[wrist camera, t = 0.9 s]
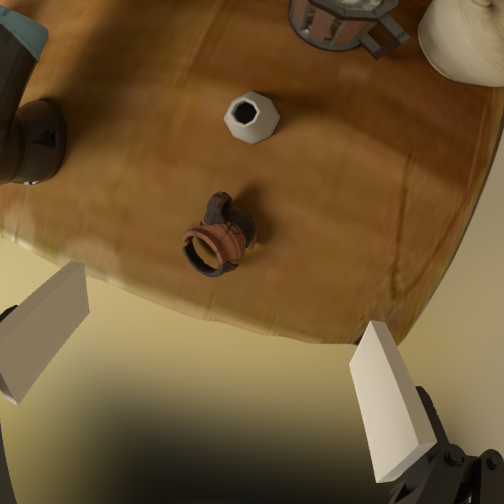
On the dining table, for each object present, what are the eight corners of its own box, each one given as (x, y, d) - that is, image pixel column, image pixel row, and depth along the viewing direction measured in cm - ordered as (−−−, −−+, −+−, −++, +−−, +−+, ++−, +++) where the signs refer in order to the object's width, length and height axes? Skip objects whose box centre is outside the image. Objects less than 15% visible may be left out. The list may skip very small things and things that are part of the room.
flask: (252, 154, 40) (245, 160, 30) (214, 119, 38) (195, 115, 29) (290, 117, 37) (294, 111, 28) (251, 82, 36) (243, 66, 26)
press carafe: (270, 12, 31) (268, -32, 19) (326, -25, 28) (342, -71, 15) (347, 83, 35) (377, 63, 22) (399, 42, 31) (441, 16, 19)
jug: (495, 55, 28) (597, 40, 5) (462, 110, 33) (584, 116, 10) (431, -10, 26) (516, -69, 2) (391, 40, 31) (489, -25, 8)
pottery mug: (262, 258, 46) (232, 292, 40) (213, 241, 50) (180, 269, 44) (261, 185, 39) (224, 213, 33) (205, 174, 43) (165, 197, 37)
